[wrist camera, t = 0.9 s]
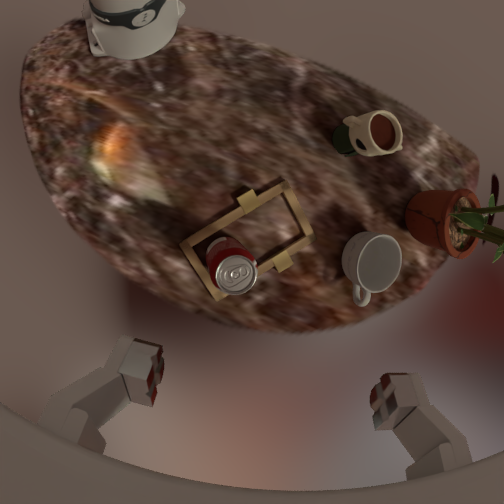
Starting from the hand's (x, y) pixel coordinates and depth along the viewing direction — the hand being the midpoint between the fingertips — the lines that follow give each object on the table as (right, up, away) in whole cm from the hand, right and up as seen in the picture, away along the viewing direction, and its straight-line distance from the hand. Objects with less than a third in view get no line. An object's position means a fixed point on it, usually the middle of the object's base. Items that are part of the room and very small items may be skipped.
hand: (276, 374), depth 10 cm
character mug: (+17, +25, +42) cm, 51 cm away
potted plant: (+34, +15, +48) cm, 61 cm away
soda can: (-5, +4, +41) cm, 42 cm away
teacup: (+20, +2, +47) cm, 51 cm away
